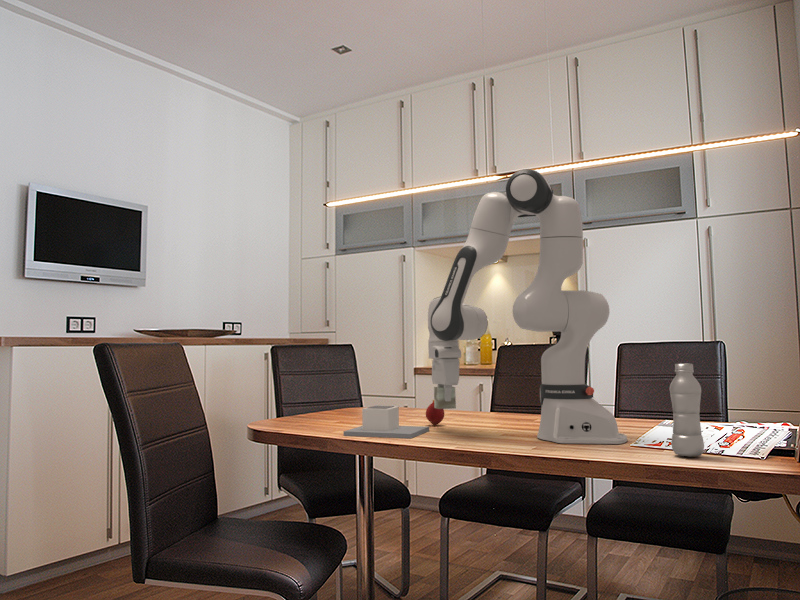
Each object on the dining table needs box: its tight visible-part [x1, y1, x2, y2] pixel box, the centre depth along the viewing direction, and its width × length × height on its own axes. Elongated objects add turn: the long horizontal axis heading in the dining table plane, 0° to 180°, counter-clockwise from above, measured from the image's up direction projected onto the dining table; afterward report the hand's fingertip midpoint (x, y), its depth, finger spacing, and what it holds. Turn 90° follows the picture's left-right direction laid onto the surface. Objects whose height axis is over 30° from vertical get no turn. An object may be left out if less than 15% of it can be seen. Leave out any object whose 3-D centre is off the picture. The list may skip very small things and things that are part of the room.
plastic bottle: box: [669, 363, 705, 458], centre depth 135 cm, size 6×7×20 cm
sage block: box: [433, 386, 457, 410], centre depth 178 cm, size 5×5×6 cm
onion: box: [425, 399, 445, 427], centre depth 193 cm, size 6×6×8 cm
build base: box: [343, 405, 430, 439], centre depth 177 cm, size 20×16×7 cm
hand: (445, 400), depth 178 cm, fingers closed on sage block, 5 cm apart
